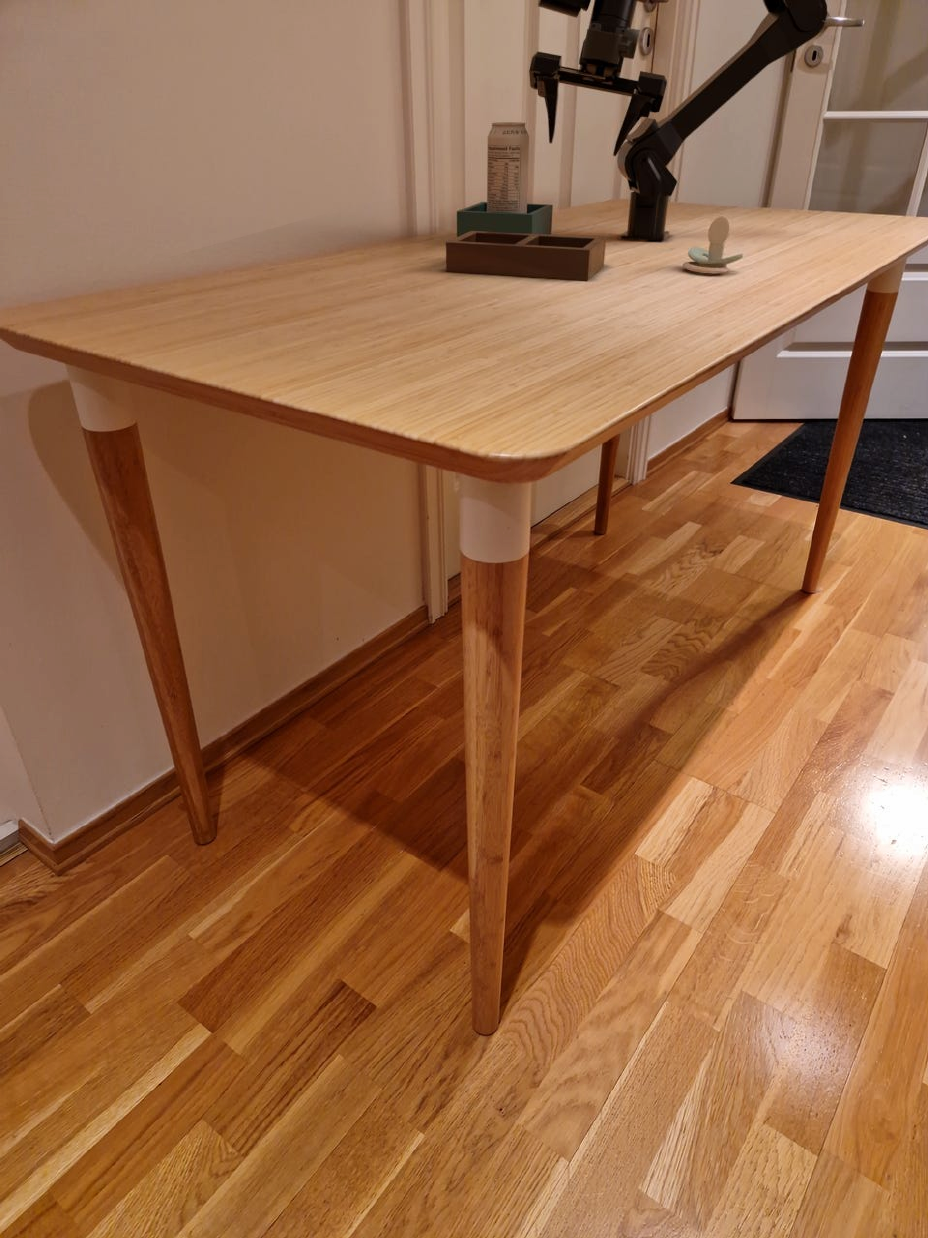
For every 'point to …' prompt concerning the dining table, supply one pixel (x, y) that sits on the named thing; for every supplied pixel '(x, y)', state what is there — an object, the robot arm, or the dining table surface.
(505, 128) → the energy drink can
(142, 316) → the dining table surface
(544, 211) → the green square tray
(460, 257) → the brown divided tray
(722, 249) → the pacifier
